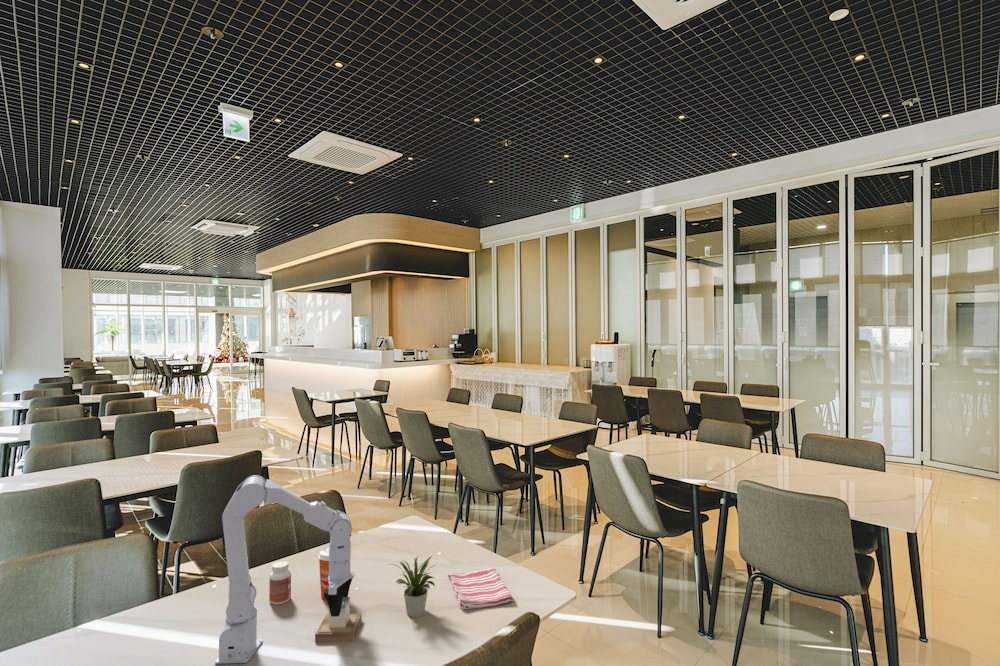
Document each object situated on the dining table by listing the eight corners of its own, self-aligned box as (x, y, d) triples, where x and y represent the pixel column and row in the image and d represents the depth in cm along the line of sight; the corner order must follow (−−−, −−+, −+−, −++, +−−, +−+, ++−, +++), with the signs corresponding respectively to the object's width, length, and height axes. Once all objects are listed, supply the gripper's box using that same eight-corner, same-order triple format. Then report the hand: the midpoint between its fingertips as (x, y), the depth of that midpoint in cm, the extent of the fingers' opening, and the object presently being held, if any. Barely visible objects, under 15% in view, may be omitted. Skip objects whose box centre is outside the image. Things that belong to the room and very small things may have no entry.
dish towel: (460, 613, 149) (460, 601, 149) (447, 578, 172) (447, 568, 172) (514, 605, 154) (514, 594, 154) (495, 572, 176) (495, 562, 176)
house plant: (388, 630, 139) (388, 570, 140) (385, 605, 153) (386, 551, 153) (439, 622, 143) (439, 565, 144) (432, 599, 157) (432, 546, 157)
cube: (345, 627, 137) (345, 605, 137) (328, 627, 137) (328, 605, 137) (349, 618, 142) (350, 596, 142) (333, 618, 141) (333, 597, 142)
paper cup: (312, 598, 157) (312, 553, 158) (331, 587, 164) (331, 544, 164) (330, 604, 153) (330, 558, 154) (348, 593, 160) (349, 549, 161)
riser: (353, 640, 134) (353, 632, 134) (315, 642, 134) (315, 633, 134) (361, 620, 144) (361, 613, 144) (326, 621, 144) (326, 613, 144)
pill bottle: (292, 601, 155) (293, 565, 155) (271, 607, 152) (271, 570, 152) (288, 593, 160) (289, 558, 161) (267, 598, 157) (268, 563, 157)
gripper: (347, 570, 133) (347, 622, 132) (360, 548, 147) (359, 595, 147) (320, 570, 132) (319, 623, 132) (335, 548, 147) (335, 595, 146)
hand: (339, 608), depth 139 cm, fingers open, 7 cm apart
